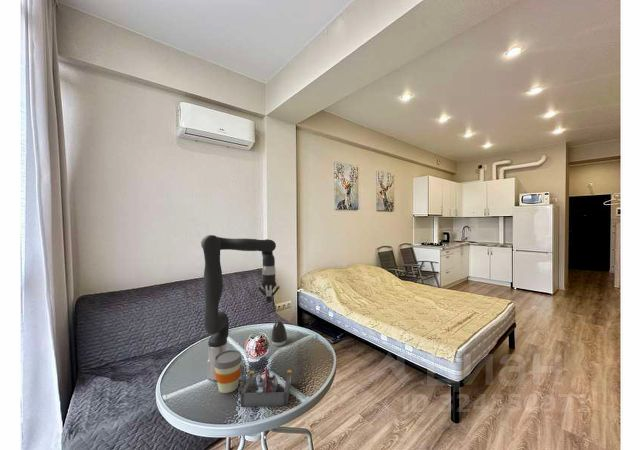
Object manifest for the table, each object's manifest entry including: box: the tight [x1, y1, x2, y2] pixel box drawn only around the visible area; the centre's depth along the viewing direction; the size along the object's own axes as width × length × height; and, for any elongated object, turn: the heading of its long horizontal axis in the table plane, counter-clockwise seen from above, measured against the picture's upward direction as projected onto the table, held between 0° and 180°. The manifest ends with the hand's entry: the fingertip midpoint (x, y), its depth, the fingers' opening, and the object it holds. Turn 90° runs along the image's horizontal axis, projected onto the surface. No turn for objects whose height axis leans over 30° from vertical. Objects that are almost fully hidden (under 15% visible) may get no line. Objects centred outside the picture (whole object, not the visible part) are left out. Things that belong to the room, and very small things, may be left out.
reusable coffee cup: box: [214, 349, 243, 394], centre depth 123 cm, size 13×12×15 cm
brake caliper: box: [255, 366, 279, 393], centre depth 119 cm, size 11×11×12 cm
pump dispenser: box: [270, 319, 288, 347], centre depth 166 cm, size 10×10×15 cm
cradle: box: [240, 369, 292, 408], centre depth 118 cm, size 20×17×6 cm
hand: (269, 302), depth 151 cm, fingers closed
